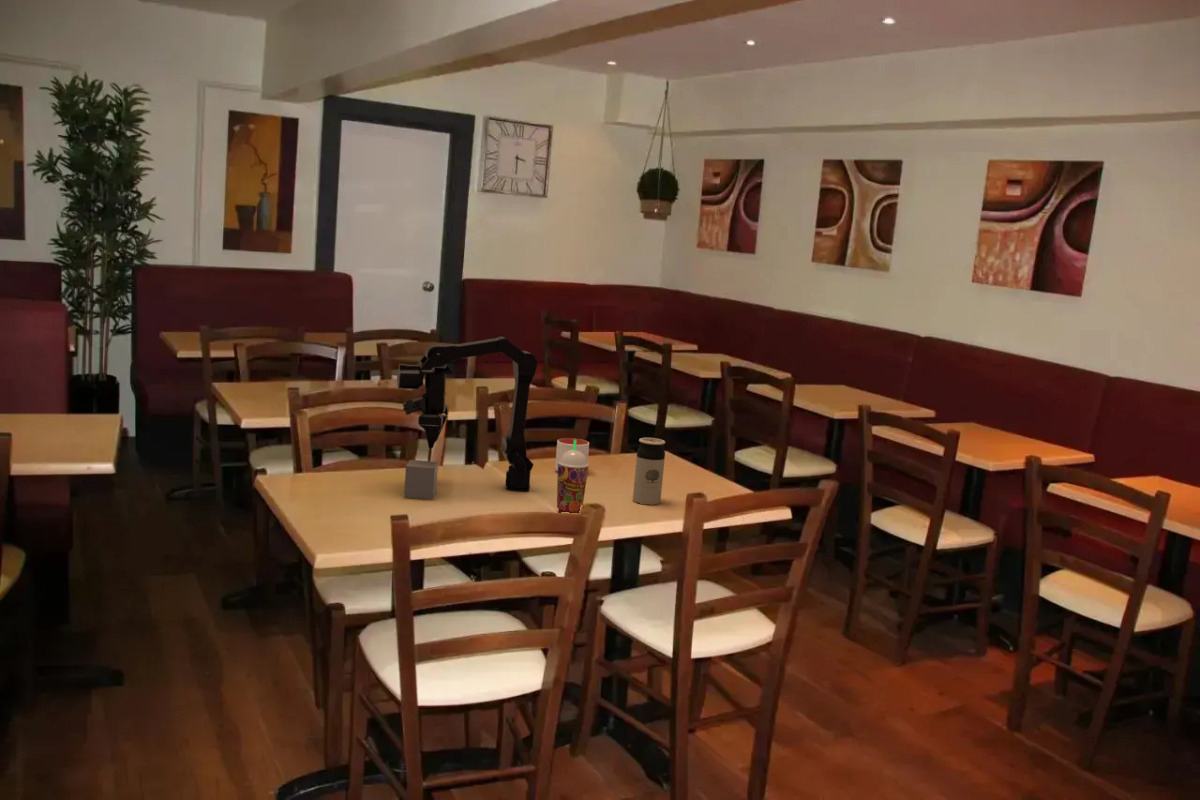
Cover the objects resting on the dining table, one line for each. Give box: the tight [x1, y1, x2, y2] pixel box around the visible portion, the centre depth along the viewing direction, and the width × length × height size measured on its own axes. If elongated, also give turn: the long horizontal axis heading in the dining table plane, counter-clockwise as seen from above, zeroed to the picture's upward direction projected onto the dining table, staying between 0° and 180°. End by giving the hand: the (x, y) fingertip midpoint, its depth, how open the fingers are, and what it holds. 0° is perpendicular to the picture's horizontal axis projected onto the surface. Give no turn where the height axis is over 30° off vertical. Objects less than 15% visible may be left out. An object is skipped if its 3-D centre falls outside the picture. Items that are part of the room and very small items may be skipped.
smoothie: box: [556, 440, 590, 513], centre depth 271 cm, size 8×8×20 cm
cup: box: [554, 437, 590, 472], centre depth 318 cm, size 10×10×10 cm
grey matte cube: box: [403, 459, 439, 500], centre depth 277 cm, size 8×8×9 cm
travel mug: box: [632, 437, 666, 505], centre depth 290 cm, size 8×8×18 cm
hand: (432, 444), depth 284 cm, fingers open, 9 cm apart
